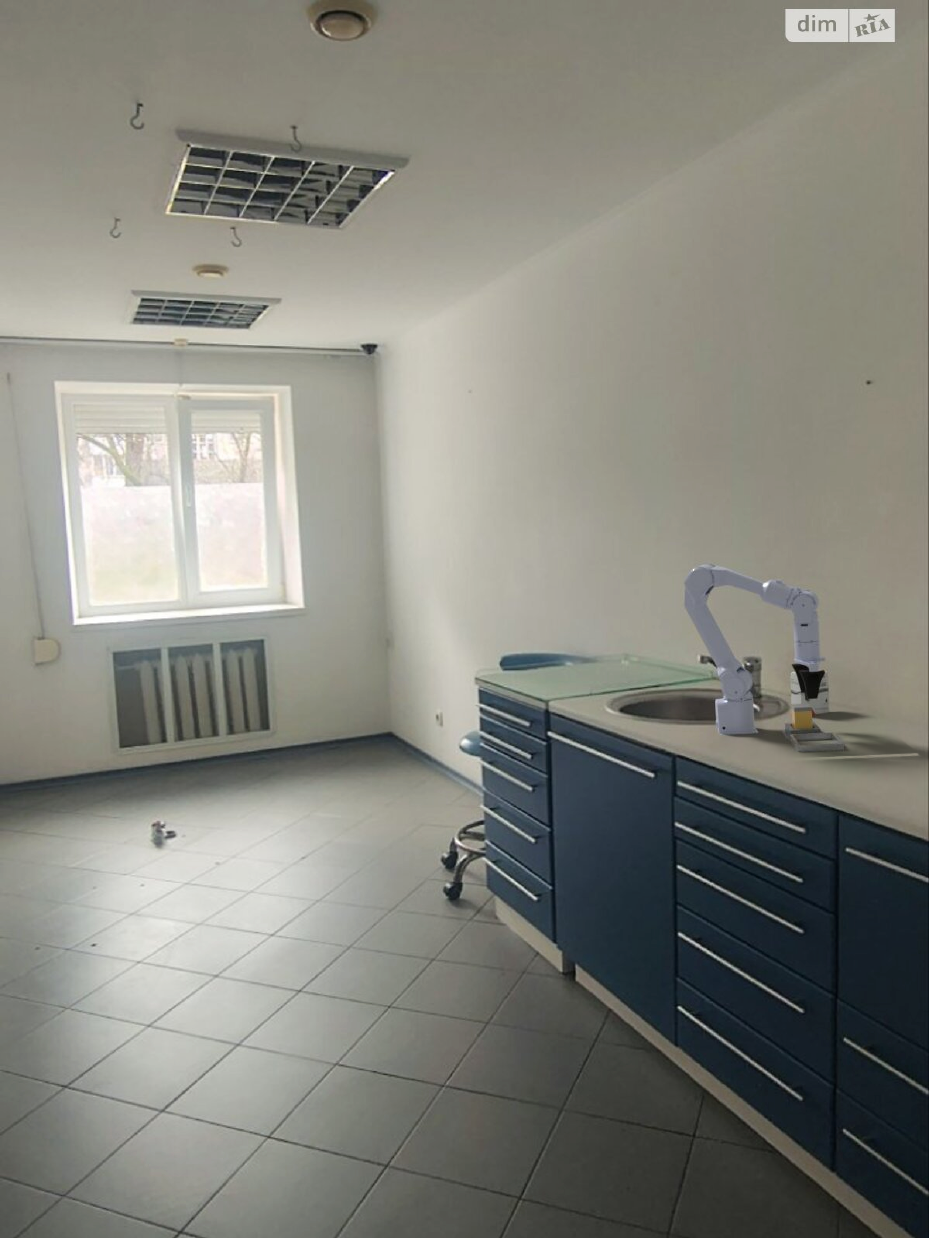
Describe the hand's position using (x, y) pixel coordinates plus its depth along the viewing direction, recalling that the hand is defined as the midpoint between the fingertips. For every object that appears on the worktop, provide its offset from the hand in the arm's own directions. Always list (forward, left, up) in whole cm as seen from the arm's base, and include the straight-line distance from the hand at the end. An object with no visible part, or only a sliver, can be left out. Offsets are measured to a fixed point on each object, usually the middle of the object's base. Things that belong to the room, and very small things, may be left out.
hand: (809, 695), depth 214 cm
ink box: (+4, +19, -10) cm, 22 cm away
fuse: (-2, -1, -9) cm, 10 cm away
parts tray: (-1, -12, -10) cm, 15 cm away
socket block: (-2, -1, -10) cm, 10 cm away
